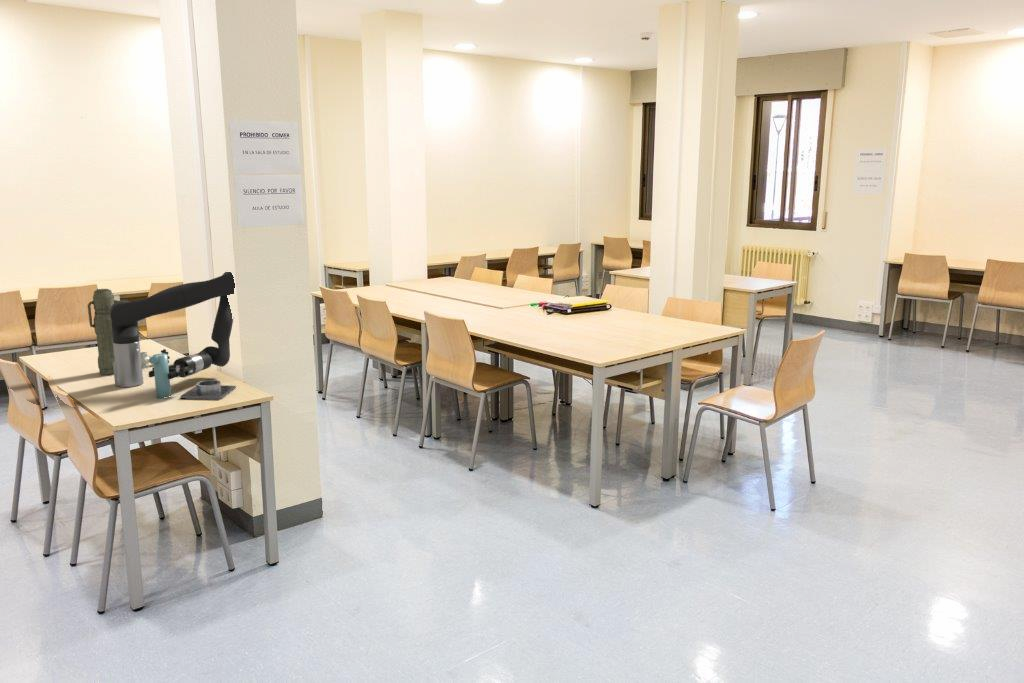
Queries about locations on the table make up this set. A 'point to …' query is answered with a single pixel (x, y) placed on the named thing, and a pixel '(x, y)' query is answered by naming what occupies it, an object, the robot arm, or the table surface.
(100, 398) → the table surface
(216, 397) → the collar
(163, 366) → the teal spouted cylinder
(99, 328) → the thermos
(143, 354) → the valve
